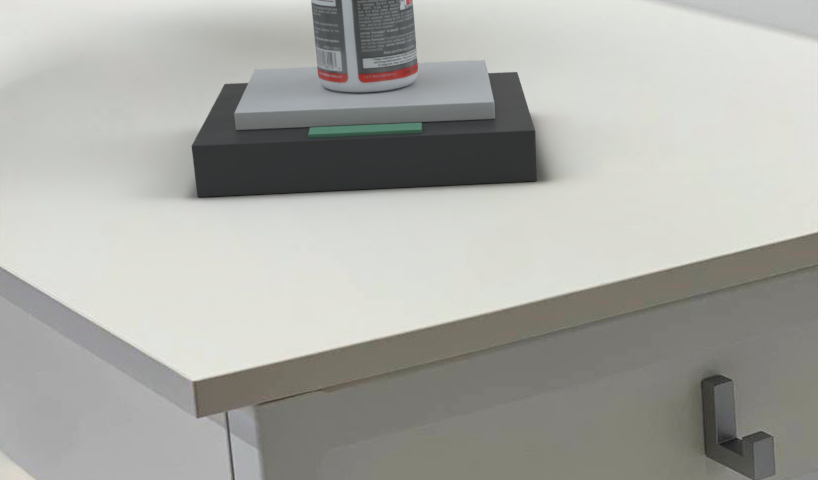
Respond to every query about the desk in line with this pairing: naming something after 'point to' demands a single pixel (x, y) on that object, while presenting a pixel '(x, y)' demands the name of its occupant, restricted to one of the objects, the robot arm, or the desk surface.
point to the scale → (365, 133)
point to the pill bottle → (365, 44)
